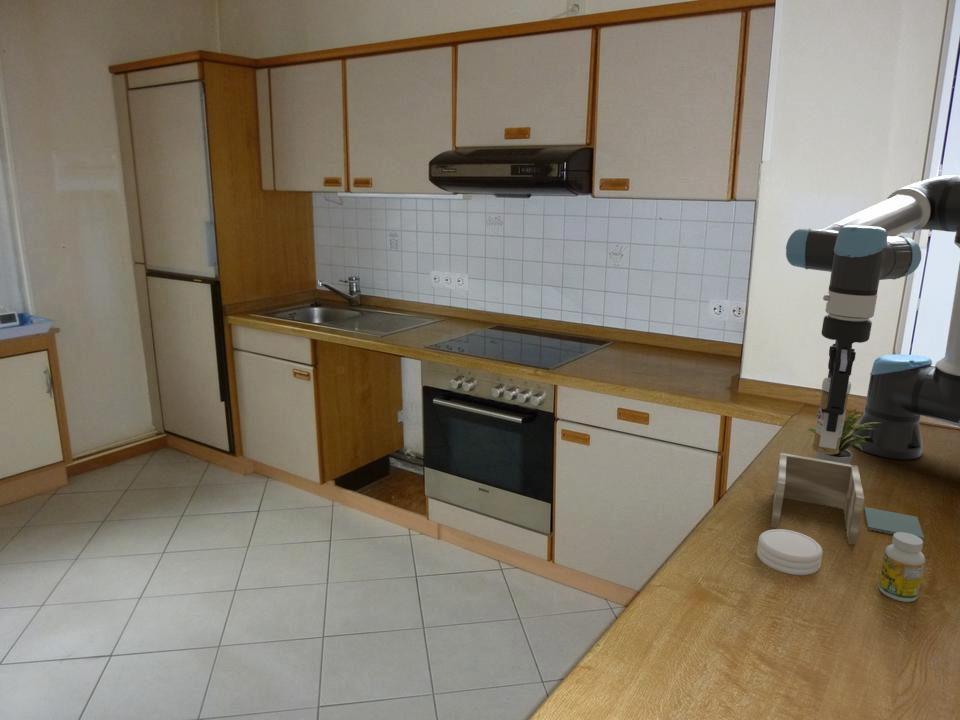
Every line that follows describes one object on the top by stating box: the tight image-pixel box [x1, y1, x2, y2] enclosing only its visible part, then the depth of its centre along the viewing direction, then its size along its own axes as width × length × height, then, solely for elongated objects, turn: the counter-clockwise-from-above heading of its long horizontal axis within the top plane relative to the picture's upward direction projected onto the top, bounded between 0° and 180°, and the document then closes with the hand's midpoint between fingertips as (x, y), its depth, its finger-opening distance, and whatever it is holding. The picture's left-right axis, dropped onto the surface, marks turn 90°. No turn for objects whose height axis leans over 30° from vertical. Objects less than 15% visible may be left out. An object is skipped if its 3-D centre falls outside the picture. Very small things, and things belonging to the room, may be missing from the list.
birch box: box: [771, 452, 865, 546], centre depth 134 cm, size 16×14×9 cm
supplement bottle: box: [878, 532, 926, 603], centre depth 110 cm, size 5×5×10 cm
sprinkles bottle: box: [811, 377, 852, 454], centre depth 127 cm, size 5×5×13 cm
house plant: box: [805, 408, 880, 465], centre depth 150 cm, size 14×14×16 cm
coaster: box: [756, 528, 824, 576], centre depth 120 cm, size 10×10×4 cm
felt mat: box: [863, 506, 925, 542], centre depth 134 cm, size 9×9×1 cm
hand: (827, 442), depth 129 cm, fingers closed on sprinkles bottle, 4 cm apart
